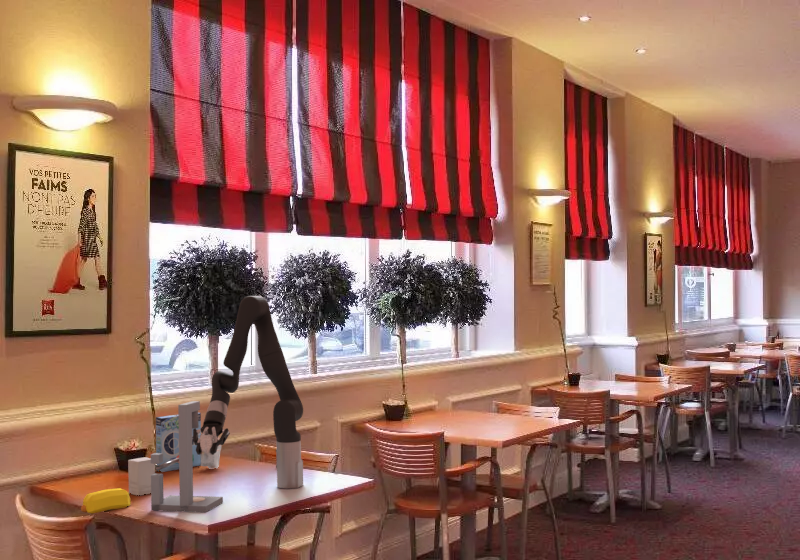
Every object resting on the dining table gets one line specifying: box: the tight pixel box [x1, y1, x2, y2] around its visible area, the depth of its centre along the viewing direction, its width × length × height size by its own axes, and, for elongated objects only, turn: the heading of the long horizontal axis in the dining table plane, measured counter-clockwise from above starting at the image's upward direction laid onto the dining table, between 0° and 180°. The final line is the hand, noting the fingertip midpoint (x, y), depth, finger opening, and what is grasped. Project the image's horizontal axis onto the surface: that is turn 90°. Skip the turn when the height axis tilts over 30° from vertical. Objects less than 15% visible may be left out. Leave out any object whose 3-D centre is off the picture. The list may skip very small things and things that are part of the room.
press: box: [150, 400, 224, 513], centre depth 299 cm, size 20×14×36 cm
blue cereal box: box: [155, 412, 202, 473], centre depth 369 cm, size 20×5×23 cm, turn 134°
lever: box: [155, 455, 179, 472], centre depth 304 cm, size 3×20×3 cm, turn 168°
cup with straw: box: [207, 436, 222, 470], centre depth 368 cm, size 8×9×20 cm
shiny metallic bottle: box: [200, 431, 214, 467], centre depth 314 cm, size 5×5×12 cm
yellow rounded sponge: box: [80, 487, 132, 515], centre depth 297 cm, size 18×7×8 cm
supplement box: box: [127, 456, 156, 497], centre depth 321 cm, size 7×7×13 cm
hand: (205, 453), depth 313 cm, fingers closed on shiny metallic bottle, 4 cm apart
